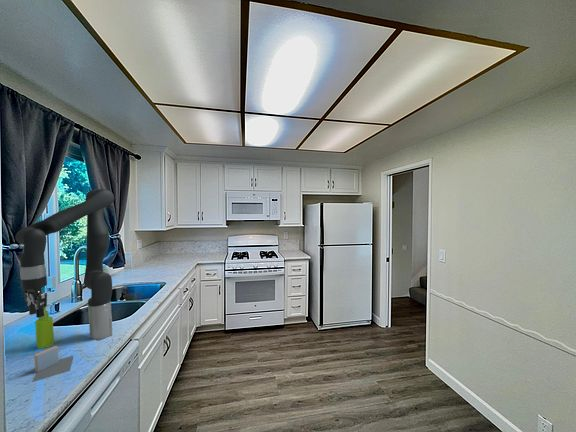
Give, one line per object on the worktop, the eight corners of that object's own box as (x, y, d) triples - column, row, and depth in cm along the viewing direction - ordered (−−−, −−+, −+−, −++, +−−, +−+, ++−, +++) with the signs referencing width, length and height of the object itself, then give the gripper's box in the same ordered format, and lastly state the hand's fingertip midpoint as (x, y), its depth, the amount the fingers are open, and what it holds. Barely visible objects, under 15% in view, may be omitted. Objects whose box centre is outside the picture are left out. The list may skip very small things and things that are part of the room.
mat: (73, 356, 111) (73, 355, 111) (70, 371, 101) (69, 370, 101) (39, 366, 105) (39, 364, 105) (31, 383, 95) (31, 382, 95)
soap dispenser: (35, 345, 119) (32, 305, 118) (55, 341, 123) (52, 301, 122) (32, 352, 115) (29, 309, 113) (52, 346, 119) (50, 306, 117)
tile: (35, 371, 101) (34, 354, 100) (57, 361, 107) (56, 345, 107) (37, 372, 100) (35, 356, 100) (59, 362, 106) (57, 346, 106)
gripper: (13, 276, 103) (16, 315, 104) (29, 281, 97) (32, 323, 98) (37, 271, 110) (40, 308, 111) (54, 275, 104) (56, 315, 105)
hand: (36, 315), depth 105 cm, fingers open, 5 cm apart
